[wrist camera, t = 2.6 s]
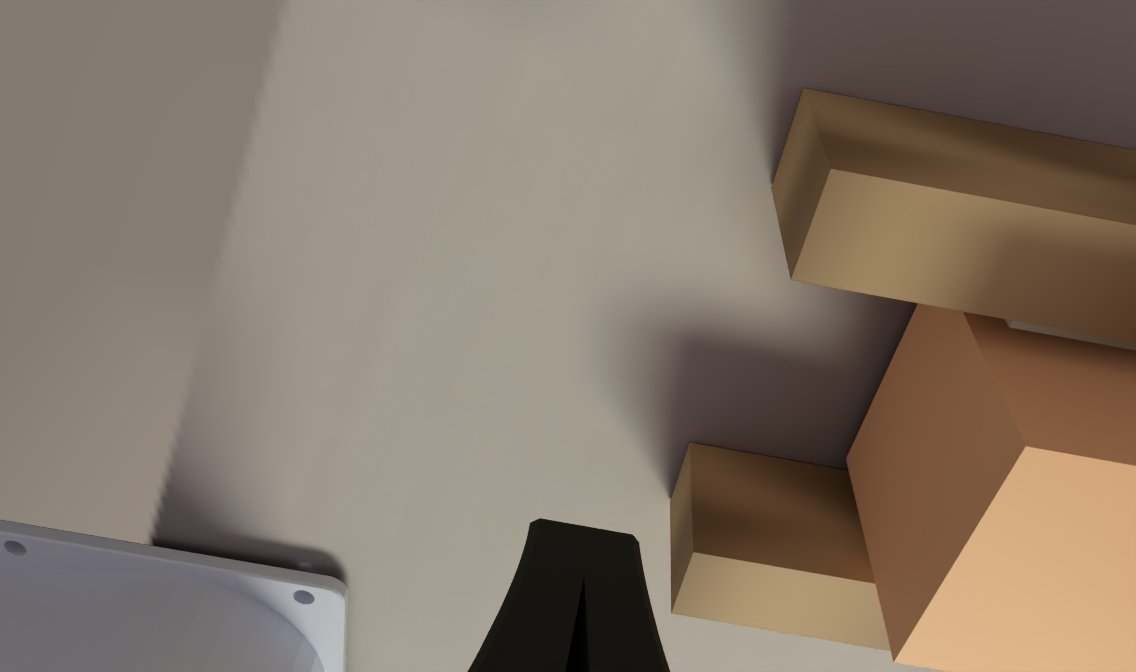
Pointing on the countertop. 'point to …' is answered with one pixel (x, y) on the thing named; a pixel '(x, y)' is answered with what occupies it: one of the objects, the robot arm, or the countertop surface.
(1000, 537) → the block
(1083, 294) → the chute
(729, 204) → the countertop surface
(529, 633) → the robot arm
